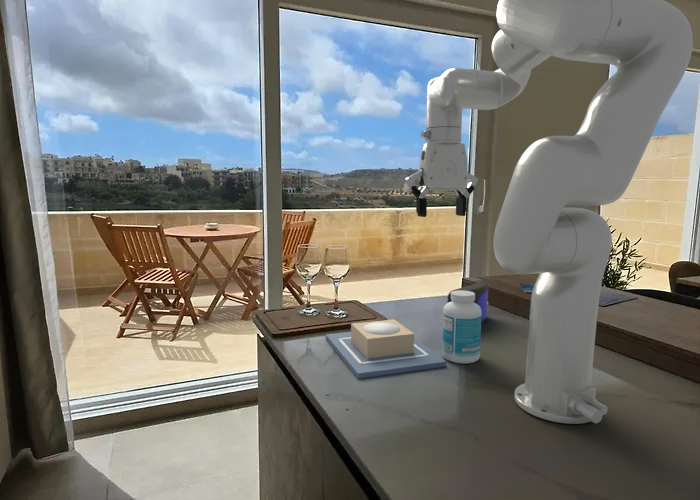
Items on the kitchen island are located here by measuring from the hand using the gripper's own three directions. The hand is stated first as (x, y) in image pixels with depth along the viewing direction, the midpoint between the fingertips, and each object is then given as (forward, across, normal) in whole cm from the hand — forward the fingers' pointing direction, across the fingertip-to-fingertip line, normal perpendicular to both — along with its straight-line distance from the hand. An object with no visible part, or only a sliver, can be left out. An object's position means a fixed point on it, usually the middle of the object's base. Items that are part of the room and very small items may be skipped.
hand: (441, 216), depth 105 cm
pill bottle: (+28, -2, -14) cm, 31 cm away
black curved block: (+28, +11, +6) cm, 31 cm away
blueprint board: (+28, -16, -6) cm, 33 cm away
